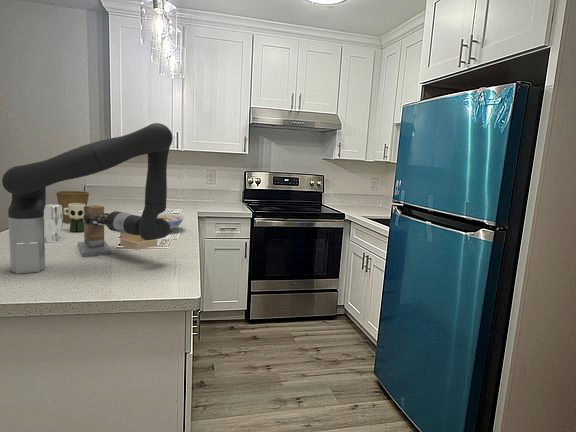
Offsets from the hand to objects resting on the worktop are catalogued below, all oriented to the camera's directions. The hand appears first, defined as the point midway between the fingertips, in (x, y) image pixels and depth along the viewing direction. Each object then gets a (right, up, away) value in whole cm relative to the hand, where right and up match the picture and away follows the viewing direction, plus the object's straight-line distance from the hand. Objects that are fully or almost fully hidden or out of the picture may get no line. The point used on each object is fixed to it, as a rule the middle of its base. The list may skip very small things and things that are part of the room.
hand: (94, 216), depth 145 cm
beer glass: (-24, -10, +12) cm, 29 cm away
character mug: (-25, -7, +32) cm, 41 cm away
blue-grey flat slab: (-2, -13, +2) cm, 14 cm away
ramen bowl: (+10, -7, +47) cm, 48 cm away
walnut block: (-1, -12, +2) cm, 12 cm away
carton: (+13, -13, +12) cm, 22 cm away
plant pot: (-39, -3, +52) cm, 65 cm away
